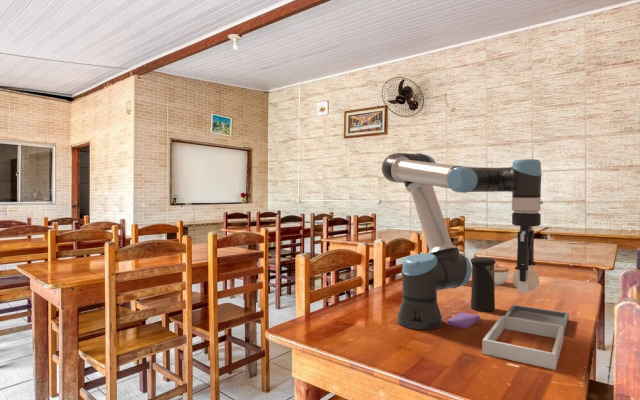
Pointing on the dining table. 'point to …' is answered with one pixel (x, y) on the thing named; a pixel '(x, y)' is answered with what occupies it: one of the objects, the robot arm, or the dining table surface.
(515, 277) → the cream round ball
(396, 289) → the dining table surface
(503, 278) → the lidded jar
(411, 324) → the robot arm
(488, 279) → the container
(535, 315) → the slate tray
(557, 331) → the light grey rectangular frame
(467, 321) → the sponges
